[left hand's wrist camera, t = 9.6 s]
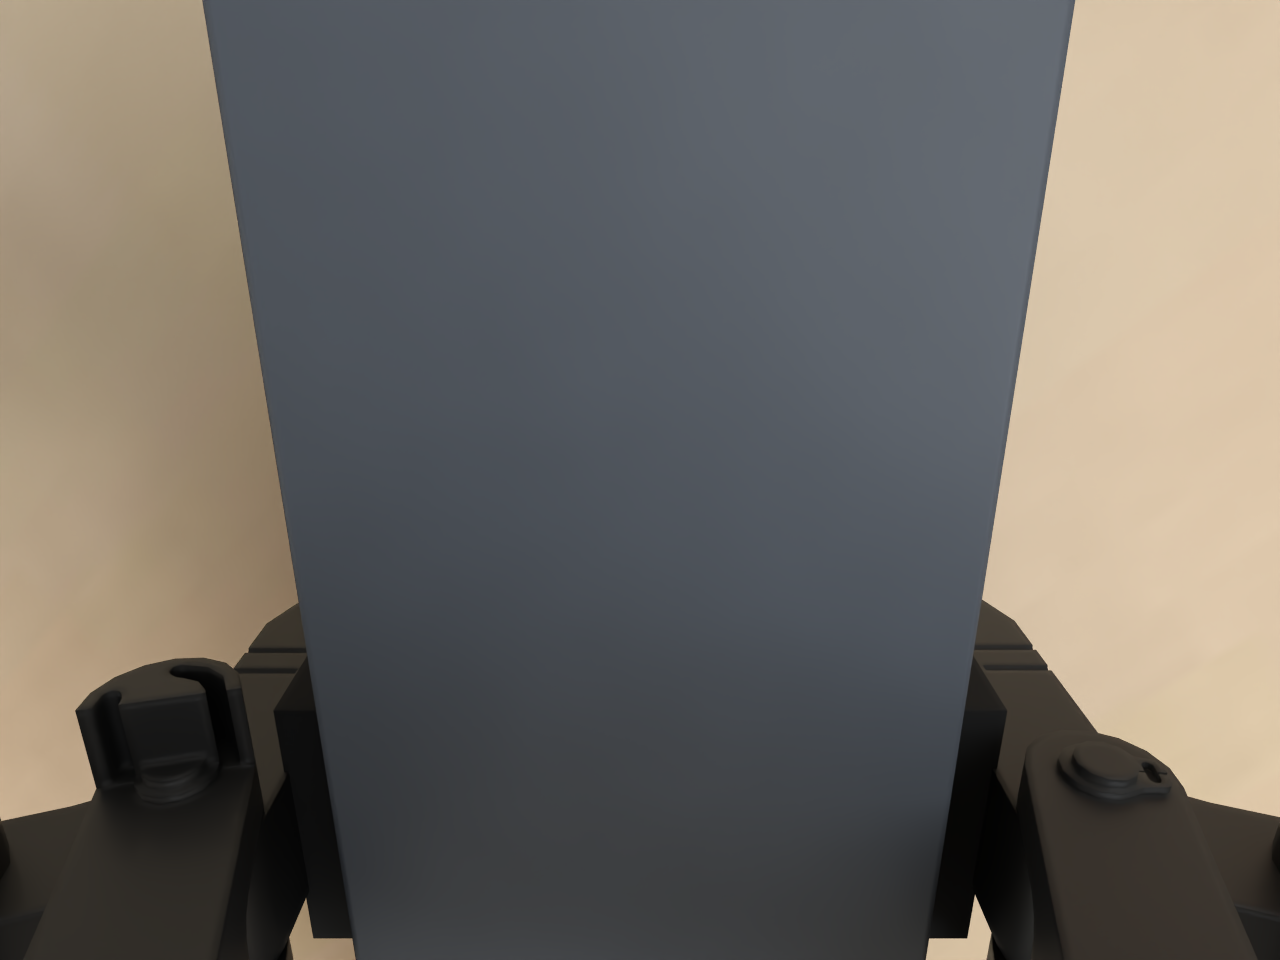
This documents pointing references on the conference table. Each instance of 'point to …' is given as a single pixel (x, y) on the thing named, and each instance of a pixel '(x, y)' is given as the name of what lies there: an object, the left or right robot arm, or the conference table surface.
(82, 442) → the conference table surface
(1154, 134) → the conference table surface
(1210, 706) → the conference table surface
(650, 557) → the beam
